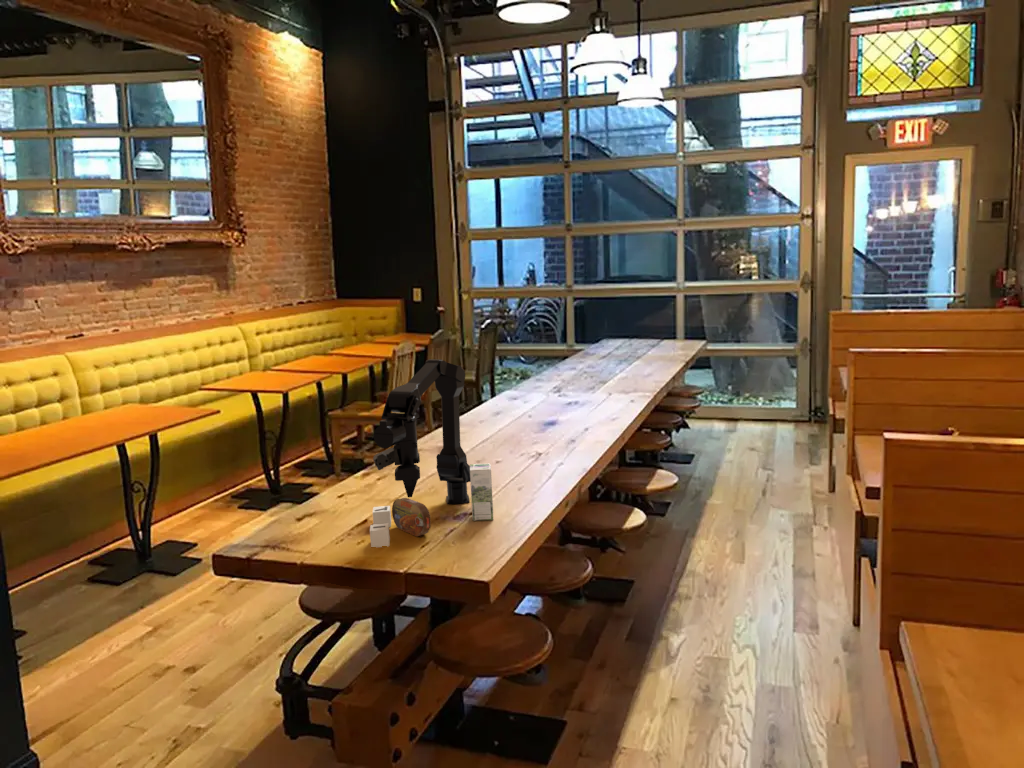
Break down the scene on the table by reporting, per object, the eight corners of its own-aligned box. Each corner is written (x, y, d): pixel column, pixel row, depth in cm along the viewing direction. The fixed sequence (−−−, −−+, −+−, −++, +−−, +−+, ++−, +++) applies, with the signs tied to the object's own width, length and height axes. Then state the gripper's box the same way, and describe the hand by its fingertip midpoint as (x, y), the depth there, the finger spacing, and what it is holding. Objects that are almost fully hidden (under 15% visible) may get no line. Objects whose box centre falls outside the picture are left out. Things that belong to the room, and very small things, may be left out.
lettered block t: (374, 522, 224) (373, 506, 223) (391, 521, 225) (390, 505, 224) (373, 528, 220) (372, 511, 219) (390, 527, 220) (389, 510, 220)
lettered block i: (372, 541, 211) (370, 524, 210) (389, 540, 211) (388, 522, 210) (371, 548, 206) (369, 530, 205) (389, 546, 207) (387, 528, 206)
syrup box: (493, 513, 227) (490, 462, 225) (493, 520, 221) (491, 468, 219) (472, 514, 227) (469, 463, 224) (472, 521, 221) (469, 469, 219)
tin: (392, 526, 221) (389, 495, 220) (402, 523, 223) (399, 493, 222) (423, 540, 210) (421, 508, 208) (433, 537, 212) (431, 505, 210)
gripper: (375, 432, 220) (379, 488, 223) (372, 450, 202) (376, 511, 205) (417, 429, 221) (421, 485, 224) (418, 446, 203) (422, 507, 206)
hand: (409, 496), depth 215 cm, fingers closed
